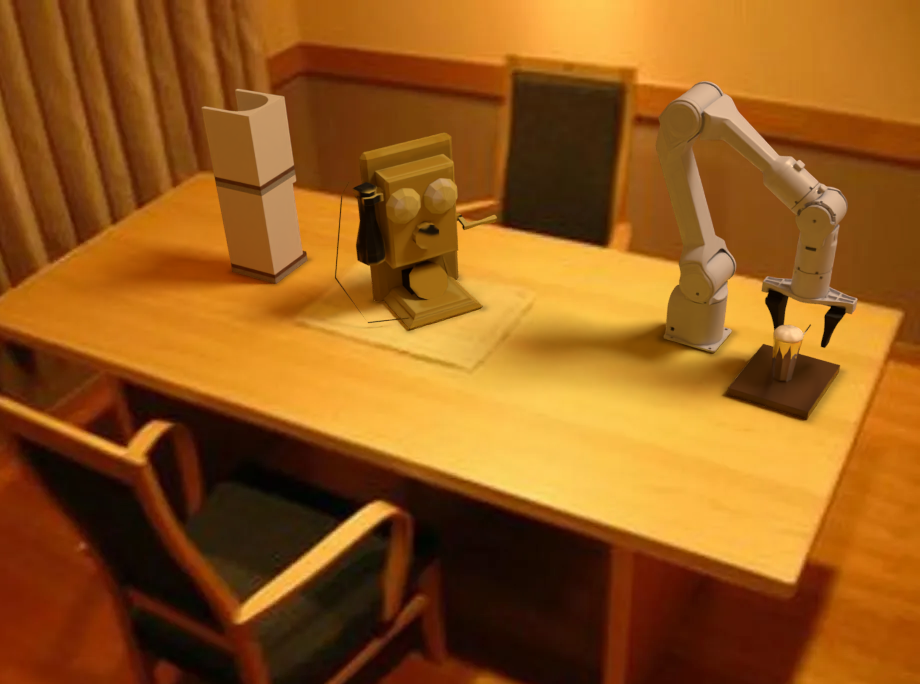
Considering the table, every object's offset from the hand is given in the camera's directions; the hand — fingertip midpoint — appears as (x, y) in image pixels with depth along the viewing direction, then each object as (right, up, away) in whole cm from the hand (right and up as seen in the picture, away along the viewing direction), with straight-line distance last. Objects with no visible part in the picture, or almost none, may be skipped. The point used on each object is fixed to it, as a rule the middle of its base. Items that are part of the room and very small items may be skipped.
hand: (801, 338), depth 177 cm
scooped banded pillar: (-93, +17, +45) cm, 105 cm away
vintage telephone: (-61, +7, +28) cm, 68 cm away
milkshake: (-3, -6, -2) cm, 7 cm away
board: (-3, -7, -1) cm, 8 cm away
